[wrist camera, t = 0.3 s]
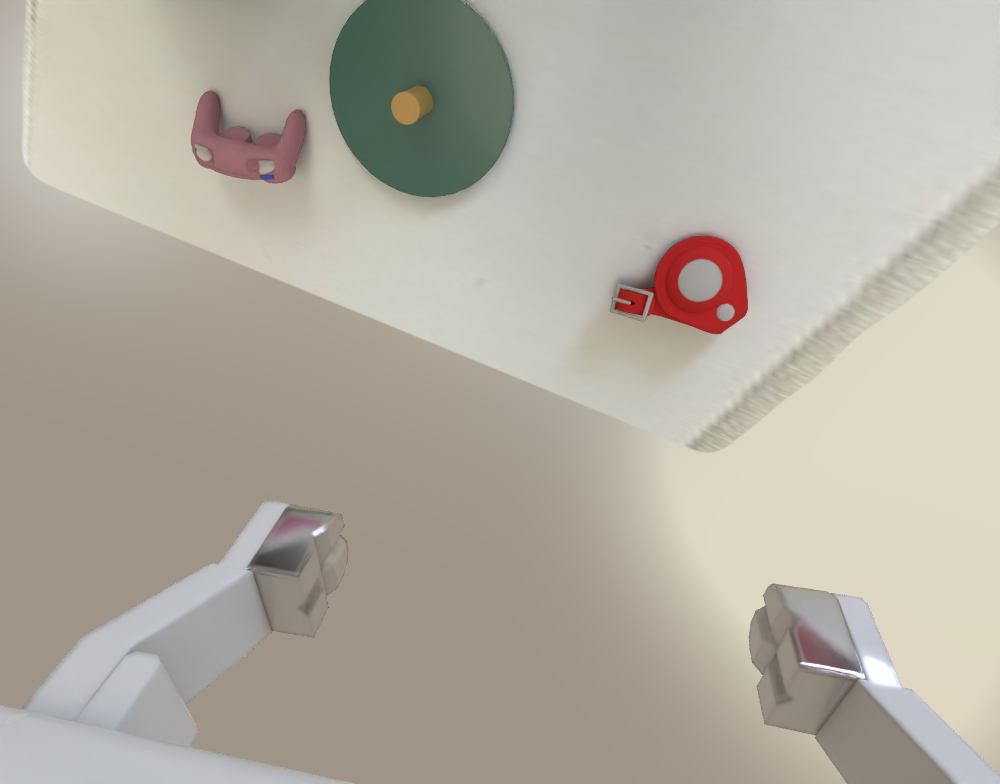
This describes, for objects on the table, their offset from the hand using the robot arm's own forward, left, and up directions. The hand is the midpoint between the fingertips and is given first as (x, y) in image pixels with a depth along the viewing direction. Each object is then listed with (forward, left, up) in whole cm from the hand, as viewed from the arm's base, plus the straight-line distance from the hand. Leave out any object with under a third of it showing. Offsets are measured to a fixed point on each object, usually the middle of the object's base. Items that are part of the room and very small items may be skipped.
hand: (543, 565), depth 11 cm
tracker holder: (+13, +9, -47) cm, 50 cm away
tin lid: (-1, -16, -46) cm, 49 cm away
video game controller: (+3, -32, -47) cm, 57 cm away
